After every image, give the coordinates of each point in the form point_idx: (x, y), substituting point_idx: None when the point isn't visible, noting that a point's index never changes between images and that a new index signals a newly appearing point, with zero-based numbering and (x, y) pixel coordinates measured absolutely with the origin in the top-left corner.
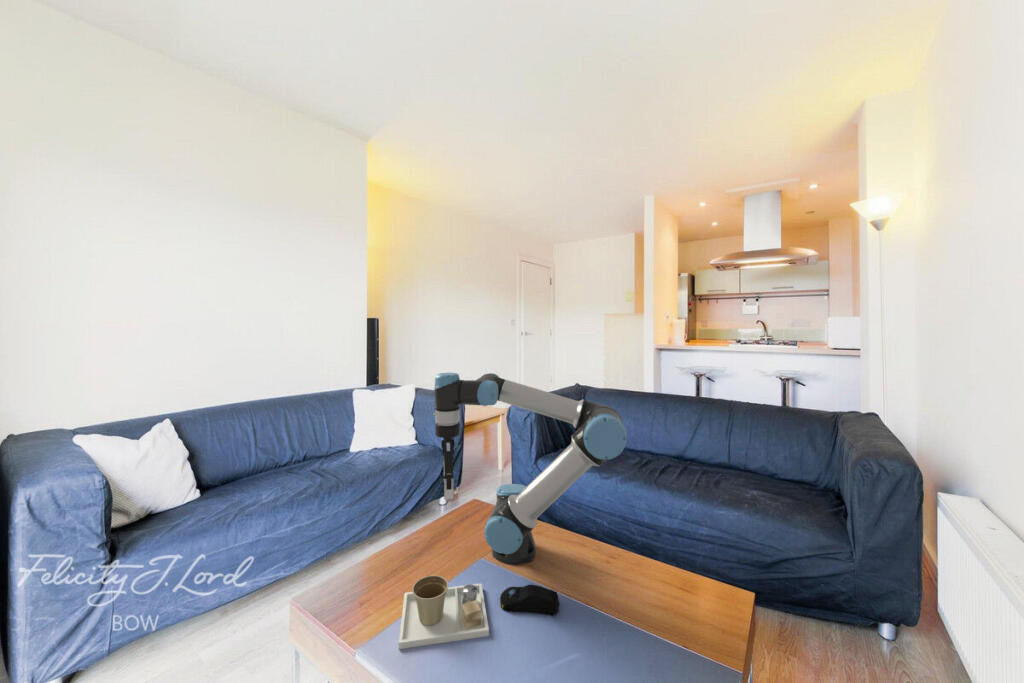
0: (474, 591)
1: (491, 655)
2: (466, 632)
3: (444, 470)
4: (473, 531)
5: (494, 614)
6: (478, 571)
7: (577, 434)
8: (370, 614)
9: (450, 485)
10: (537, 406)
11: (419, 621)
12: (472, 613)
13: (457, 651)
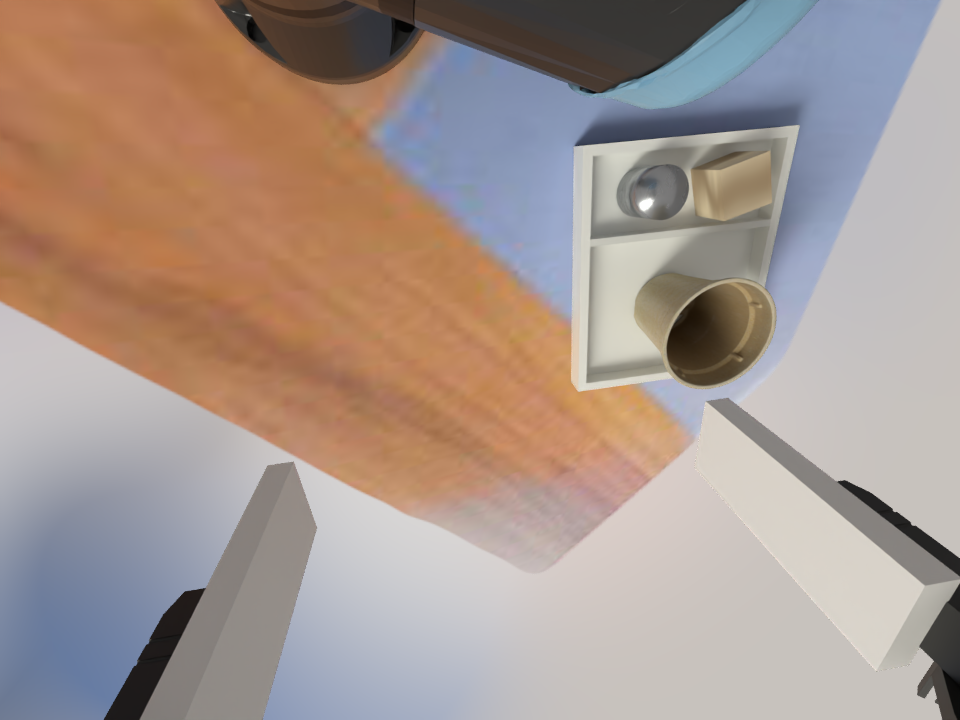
0: (676, 174)
1: (834, 122)
2: (782, 199)
3: (282, 636)
4: (144, 180)
5: (695, 100)
6: (463, 156)
7: None
8: (603, 443)
9: (896, 524)
10: None
11: None
12: (769, 181)
13: (784, 221)
